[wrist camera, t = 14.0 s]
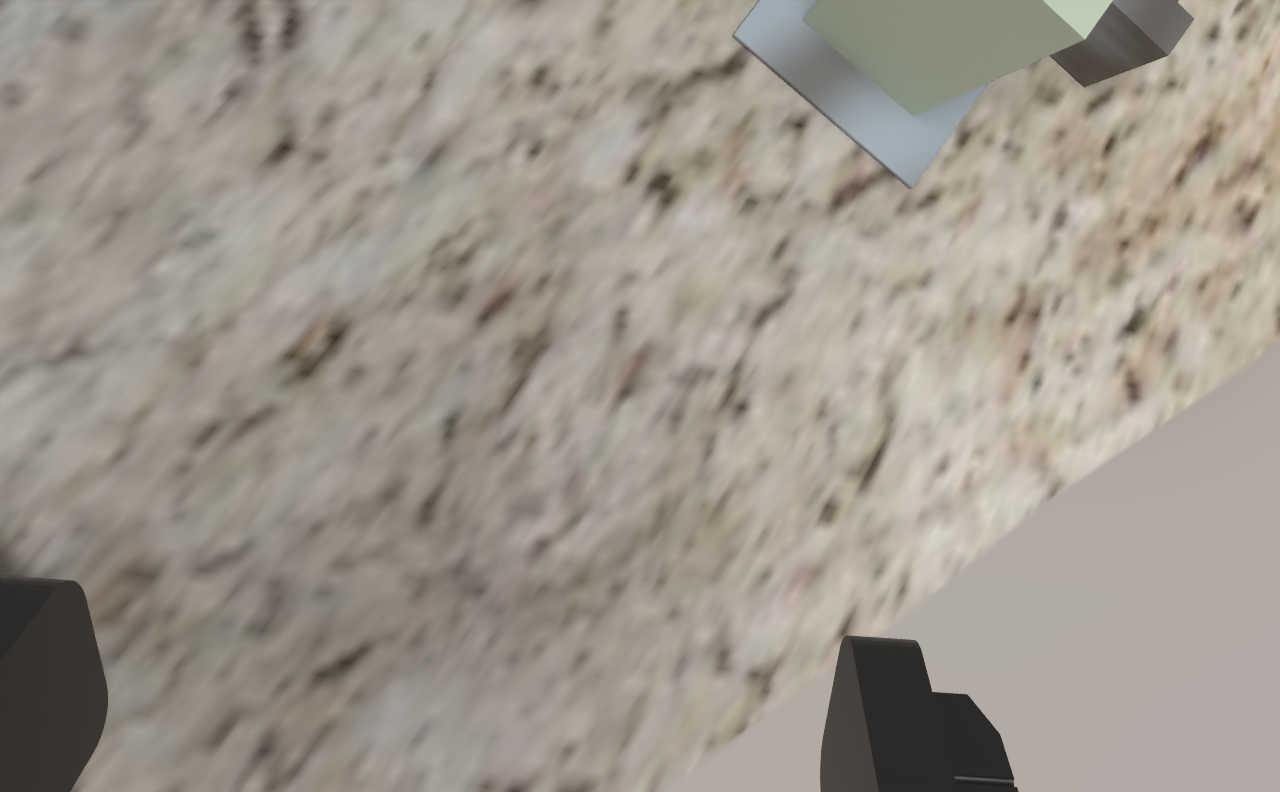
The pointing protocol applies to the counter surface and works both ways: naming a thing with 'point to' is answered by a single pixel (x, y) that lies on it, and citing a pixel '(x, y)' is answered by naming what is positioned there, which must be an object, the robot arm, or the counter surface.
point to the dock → (907, 144)
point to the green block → (948, 40)
